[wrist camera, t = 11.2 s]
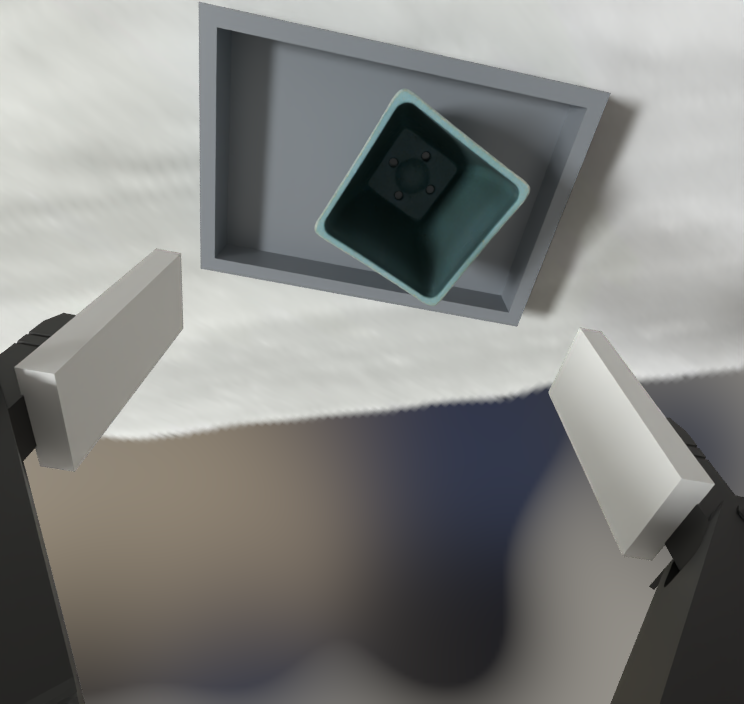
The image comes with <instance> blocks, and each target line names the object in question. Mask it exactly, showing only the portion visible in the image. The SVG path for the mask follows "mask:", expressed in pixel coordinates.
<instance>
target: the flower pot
mask: <svg viewBox="0 0 744 704" xmlns="http://www.w3.org/2000/svg"><path fill="white" fill-rule="evenodd" d="M424 152H427V153H429V158H428V159H427V160H424V159H423V158H422V154H423V153H424ZM392 158H395V159H396V160H397V164H396V166H391V165H390V163H389V161H390V159H392ZM428 186H433V188H434V190H433V192H432V193H428V192H427V187H428ZM398 191H399V192H401V193H402V197H401V198H400V199H397V198H396V197H395V193H396V192H398ZM529 193H530V186H529V185H528V184H527V182H526V181H525V180H523V179H522V178H521V177H519V176H518V175H517V174H515V173H514V172H513V171H511V170H510V169H509V168H508V167H506V166H505V165H504V164H503V163H501V162H500V161H498V160H497V159H496V158H495V157H493V156H492V155H491V154H489V153H488V152H487V151H486V150H484V149H483V148H482V147H481V146H479V145H478V144H477V143H476V142H474V141H473V140H472V139H471V138H469V137H468V136H467V135H466V134H464V133H463V132H462V131H460V130H459V129H458V128H457V127H455V126H454V125H453V124H452V123H451V122H449V121H448V120H447V119H446V118H444V117H443V116H442V115H441V114H439V113H438V112H437V111H436V110H434V109H433V108H432V107H431V106H430V105H428V104H427V103H426V102H425V101H424V100H422V99H421V98H420V97H419V96H418V95H416V94H415V93H414V92H412V91H411V90H409V89H401V90H399V91H398V92H397V93H396V94H395V96H394V97H393V99H392V100H391V102H390V103H389V105H388V107H387V109H386V110H385V112H384V114H383V115H382V117H381V119H380V120H379V122H378V124H377V125H376V127H375V129H374V130H373V132H372V134H371V136H370V137H369V139H368V140H367V142H366V143H365V145H364V147H363V149H362V150H361V152H360V154H359V155H358V157H357V158H356V160H355V161H354V163H353V165H352V166H351V168H350V169H349V171H348V173H347V174H346V176H345V177H344V179H343V181H342V182H341V184H340V185H339V187H338V188H337V190H336V192H335V193H334V195H333V196H332V198H331V200H330V201H329V203H328V204H327V206H326V207H325V209H324V210H323V212H322V214H321V215H320V217H319V218H318V220H317V221H316V224H315V232H316V234H318V235H319V236H320V237H322V238H323V239H324V240H326V241H327V242H329V243H331V244H332V245H334V246H335V247H337V248H339V249H341V250H342V251H344V252H345V253H347V254H348V255H350V256H352V257H353V258H355V259H357V260H358V261H360V262H361V263H363V264H365V265H366V266H368V267H369V268H371V269H372V270H374V271H376V272H377V273H379V274H380V275H382V276H383V277H385V278H386V279H388V280H390V281H391V282H393V283H394V284H396V285H398V286H399V287H400V288H402V289H403V290H405V291H406V292H408V293H409V294H411V295H412V296H414V297H415V298H417V299H418V300H419V301H421V302H422V303H424V304H426V305H429V306H435V305H437V304H438V303H439V302H440V301H441V300H442V299H443V298H444V297H445V296H446V294H447V293H448V291H449V290H450V289H451V288H452V287H453V286H454V284H455V283H456V282H457V281H458V279H459V278H460V277H461V276H462V274H463V273H464V272H465V271H466V270H467V268H468V267H469V266H470V265H471V264H472V262H473V261H474V260H475V259H476V257H478V255H479V254H480V253H481V251H482V250H483V249H484V248H485V247H486V245H487V244H488V243H489V242H490V241H491V239H492V238H493V237H494V236H495V235H496V234H497V233H498V231H499V230H500V229H501V228H502V227H503V226H504V224H505V223H506V222H507V221H508V220H509V218H511V216H512V215H513V214H514V213H515V212H516V211H517V210H518V209H519V207H520V206H521V205H522V204H523V203H524V202H525V200H526V198H527V197H528V195H529Z"/></svg>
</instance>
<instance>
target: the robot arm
mask: <svg viewBox="0 0 744 704" xmlns="http://www.w3.org/2000/svg"><path fill="white" fill-rule="evenodd" d="M182 329H183V303H182V271H181V253H177V252H172V251H167V250H161V249H155V250H154V251H153V252H152V253H150V254H149V255H148V256H147V257H146V258H144V259H143V260H142V261H141V262H140V263H138V264H137V265H136V266H135V267H134V268H132V269H131V270H130V271H129V272H128V273H126V274H125V275H124V276H123V277H122V278H120V279H119V280H118V281H117V282H116V283H114V284H113V285H112V286H111V287H110V288H108V289H107V290H106V291H105V292H104V293H102V294H101V295H100V296H99V297H98V298H96V299H95V300H94V301H93V302H92V303H91V304H89V305H88V306H87V307H86V308H85V309H83V310H82V311H81V312H80V313H79V314H77V315H71V314H66V313H63V314H60V315H57V316H55V317H52V318H50V319H47V320H45V321H43V322H41V323H40V324H39V325H38V326H36V327H35V328H34V329H32V330H31V331H30V332H29V334H26V335H25V336H23V337H22V338H21V339H19V340H18V342H17V343H14V344H13V345H12V346H10V347H9V348H8V349H7V350H5V351H4V352H3V353H1V354H0V704H85V701H84V697H83V693H82V689H81V685H80V681H79V677H78V673H77V669H76V665H75V661H74V658H73V654H72V649H71V646H70V642H69V638H68V634H67V630H66V626H65V622H64V618H63V614H62V610H61V606H60V602H59V599H58V595H57V591H56V587H55V583H54V579H53V575H52V571H51V567H50V564H49V559H48V555H47V552H46V548H45V544H44V540H43V536H42V532H41V528H40V524H39V520H38V516H37V513H36V508H35V505H34V501H33V497H32V493H31V489H30V485H29V481H28V477H27V473H26V469H25V466H24V462H23V461H24V459H26V457H27V456H28V455H29V454H30V453H31V452H32V451H33V449H36V452H37V456H38V460H39V464H40V466H42V467H49V468H55V469H62V470H68V471H74V472H75V471H76V469H77V468H78V467H79V465H80V464H81V463H82V461H83V460H84V459H85V457H86V456H87V455H88V453H89V452H90V451H91V450H92V448H93V447H94V446H95V444H96V443H97V442H98V440H99V439H100V438H101V436H102V435H103V434H104V432H105V431H106V430H107V428H108V427H109V426H110V424H111V423H112V422H113V420H114V419H115V418H116V417H117V415H118V414H119V413H120V411H121V410H122V409H123V407H124V406H125V405H126V403H127V402H128V401H129V399H130V398H131V397H132V395H133V394H134V393H135V391H136V390H137V389H138V387H139V386H140V385H141V383H142V382H143V381H144V380H145V378H146V377H147V376H148V374H149V373H150V372H151V370H152V369H153V368H154V366H155V365H156V364H157V362H158V361H159V360H160V358H161V357H162V356H163V354H164V353H165V352H166V350H167V349H168V348H169V346H170V345H171V344H172V342H173V341H174V340H175V339H176V337H177V336H178V335H179V333H180V332H181V331H182ZM549 395H550V397H551V399H552V401H553V404H554V406H555V408H556V410H557V413H558V415H559V417H560V419H561V421H562V423H563V426H564V428H565V430H566V432H567V435H568V437H569V439H570V441H571V443H572V445H573V448H574V450H575V452H576V454H577V456H578V459H579V461H580V463H581V465H582V468H583V470H584V472H585V474H586V476H587V479H588V481H589V483H590V485H591V487H592V490H593V491H594V494H595V496H596V498H597V501H598V503H599V505H600V507H601V509H602V512H603V514H604V516H605V518H606V520H607V523H608V525H609V527H610V529H611V531H612V534H613V536H614V538H615V540H616V543H617V545H618V547H619V549H620V551H621V554H622V556H626V557H632V558H639V559H646V560H653V559H654V558H655V556H656V555H657V554H658V553H659V552H660V550H661V549H662V548H663V546H665V545H666V547H667V549H668V550H669V552H670V554H671V556H672V558H673V560H672V561H671V562H670V563H669V564H668V565H667V567H666V568H665V569H664V570H663V571H662V572H661V573H660V575H659V576H658V577H657V578H656V579H655V581H654V582H653V583H652V584H651V585H650V586H649V587H651V588H652V589H655V588H656V587H657V586H658V587H657V589H656V592H655V594H654V597H653V599H652V602H651V604H650V607H649V609H648V612H647V614H646V617H645V619H644V622H643V624H642V627H641V629H640V632H639V634H638V637H637V639H636V642H635V645H634V647H633V649H632V652H631V654H630V656H629V659H628V662H627V664H626V666H625V669H624V671H623V674H622V677H621V679H620V681H619V684H618V686H617V689H616V692H615V694H614V696H613V699H612V701H611V704H744V497H740V496H735V494H734V493H733V492H732V490H731V489H730V488H729V487H728V485H727V484H726V483H725V481H724V480H723V479H722V477H721V476H720V475H719V474H718V472H717V471H716V470H715V468H714V467H713V466H712V464H711V463H710V462H709V460H706V459H705V458H706V457H705V455H704V454H703V453H702V452H701V450H700V449H699V448H697V445H696V444H695V442H694V441H693V440H692V438H691V437H690V436H689V435H688V433H687V432H686V431H685V430H684V429H683V428H681V427H680V426H679V425H678V424H676V423H675V422H674V421H673V420H672V419H670V418H666V417H665V416H664V415H663V414H662V412H661V411H660V409H659V408H658V407H657V405H656V404H655V403H654V401H653V400H652V399H651V397H650V396H649V395H648V393H647V392H646V391H645V389H644V388H643V387H642V385H641V384H640V382H639V381H638V380H637V378H636V377H635V376H634V374H633V373H632V372H631V370H630V369H629V368H628V366H627V365H626V364H625V362H624V361H623V360H622V358H621V357H620V355H619V354H618V353H617V351H616V350H615V349H614V347H613V346H612V345H611V343H610V342H609V341H608V339H607V338H606V337H605V335H604V334H603V333H602V332H601V331H596V330H591V329H585V328H579V330H578V332H577V334H576V336H575V339H574V341H573V343H572V345H571V347H570V349H569V351H568V353H567V355H566V357H565V359H564V361H563V363H562V365H561V368H560V370H559V372H558V374H557V376H556V378H555V380H554V382H553V384H552V386H551V388H550V390H549Z"/></svg>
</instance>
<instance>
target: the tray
mask: <svg viewBox="0 0 744 704" xmlns="http://www.w3.org/2000/svg"><path fill="white" fill-rule="evenodd" d="M401 89H409V90H411V91H412V92H414V93H415V94H416V95H418V96H419V97H420V98H421V99H422V100H424V101H425V102H426V103H427V104H428V105H430V106H431V107H432V108H433V109H434V110H436V111H437V112H438V113H439V114H441V115H442V116H443V117H444V118H446V119H447V120H448V121H449V122H451V123H452V124H453V125H454V126H455V127H457V128H458V129H459V130H460V131H462V132H463V133H464V134H466V135H467V136H468V137H469V138H471V139H472V140H473V141H474V142H476V143H477V144H478V145H479V146H481V147H482V148H483V149H484V150H486V151H487V152H488V153H489V154H491V155H492V156H493V157H495V158H496V159H497V160H498V161H500V162H501V163H503V164H504V165H505V166H506V167H508V168H509V169H510V170H511V171H513V172H514V173H515V174H517V175H518V176H519V177H521V178H522V179H523V180H525V181H526V182H527V184H528V185H529V186H530V193H529V195H528V197H527V198H526V200H525V202H524V203H523V204H522V205H521V206H520V207H519V209H518V210H517V211H516V212H515V213H514V214H513V215H512V216H511V218H509V220H508V221H507V222H506V223H505V224H504V226H503V227H502V228H501V229H500V230H499V231H498V233H497V234H496V235H495V236H494V237H493V238H492V239H491V241H490V242H489V243H488V244H487V245H486V247H485V248H484V249H483V250H482V251H481V253H480V254H479V255H478V257H476V259H475V260H474V261H473V262H472V264H471V265H470V266H469V267H468V268H467V270H466V271H465V272H464V273H463V274H462V276H461V277H460V278H459V279H458V281H457V282H456V283H455V284H454V286H453V287H452V288H451V289H450V290H449V291H448V293H447V294H446V296H445V297H444V298H443V299H442V300H441V301H440V302H439V303H438V304H437V305H435V306H429V305H426V304H424V303H422V302H421V301H419V300H418V299H417V298H415V297H414V296H412V295H411V294H409V293H408V292H406V291H405V290H403V289H402V288H400V287H399V286H398V285H396V284H394V283H393V282H391V281H390V280H388V279H386V278H385V277H383V276H382V275H380V274H379V273H377V272H376V271H374V270H372V269H371V268H369V267H368V266H366V265H365V264H363V263H361V262H360V261H358V260H357V259H355V258H353V257H352V256H350V255H348V254H347V253H345V252H344V251H342V250H341V249H339V248H337V247H335V246H334V245H332V244H331V243H329V242H327V241H326V240H324V239H323V238H322V237H320V236H319V235H318V234H316V232H315V224H316V221H317V220H318V218H319V217H320V215H321V214H322V212H323V210H324V209H325V207H326V206H327V204H328V203H329V201H330V200H331V198H332V196H333V195H334V193H335V192H336V190H337V188H338V187H339V185H340V184H341V182H342V181H343V179H344V177H345V176H346V174H347V173H348V171H349V169H350V168H351V166H352V165H353V163H354V161H355V160H356V158H357V157H358V155H359V154H360V152H361V150H362V149H363V147H364V145H365V143H366V142H367V140H368V139H369V137H370V136H371V134H372V132H373V130H374V129H375V127H376V125H377V124H378V122H379V120H380V119H381V117H382V115H383V114H384V112H385V110H386V109H387V107H388V105H389V103H390V102H391V100H392V99H393V97H394V96H395V94H396V93H397V92H398V91H399V90H401ZM609 96H610V93H609V92H604V91H600V90H595V89H591V88H586V87H582V86H577V85H573V84H568V83H564V82H559V81H555V80H550V79H546V78H541V77H536V76H532V75H527V74H523V73H518V72H514V71H509V70H505V69H500V68H496V67H491V66H487V65H482V64H478V63H473V62H469V61H464V60H460V59H455V58H451V57H446V56H442V55H437V54H433V53H428V52H424V51H419V50H414V49H410V48H405V47H401V46H396V45H392V44H387V43H383V42H378V41H374V40H369V39H365V38H360V37H356V36H351V35H347V34H342V33H338V32H333V31H329V30H324V29H320V28H315V27H311V26H306V25H302V24H297V23H293V22H288V21H283V20H279V19H274V18H270V17H265V16H261V15H256V14H252V13H247V12H243V11H238V10H234V9H229V8H225V7H220V6H216V5H211V4H207V3H202V2H199V104H200V241H201V269H206V270H212V271H217V272H222V273H228V274H233V275H239V276H244V277H250V278H255V279H261V280H266V281H272V282H277V283H283V284H288V285H293V286H299V287H304V288H310V289H315V290H321V291H326V292H332V293H337V294H343V295H348V296H353V297H359V298H364V299H370V300H375V301H381V302H386V303H392V304H397V305H403V306H408V307H413V308H419V309H424V310H430V311H435V312H441V313H446V314H452V315H457V316H463V317H468V318H474V319H479V320H484V321H490V322H495V323H501V324H506V325H512V326H518V323H519V321H520V318H521V316H522V313H523V311H524V308H525V306H526V303H527V301H528V298H529V296H530V293H531V291H532V288H533V286H534V283H535V281H536V278H537V276H538V273H539V271H540V268H541V266H542V263H543V261H544V258H545V256H546V253H547V251H548V248H549V246H550V243H551V241H552V238H553V236H554V233H555V231H556V228H557V226H558V223H559V221H560V218H561V216H562V213H563V211H564V208H565V206H566V203H567V201H568V198H569V196H570V193H571V191H572V188H573V186H574V183H575V181H576V178H577V176H578V173H579V171H580V168H581V166H582V163H583V161H584V158H585V156H586V153H587V151H588V148H589V146H590V143H591V141H592V138H593V136H594V133H595V131H596V128H597V126H598V123H599V121H600V118H601V116H602V113H603V111H604V108H605V106H606V103H607V101H608V98H609ZM422 158H423V159H424V160H427V159H428V158H429V153H427V152H424V153H423V154H422ZM389 163H390V165H391V166H396V164H397V160H396V159H395V158H392V159H390V161H389ZM433 190H434V188H433V186H428V187H427V192H428V193H432V192H433ZM395 197H396V198H397V199H400V198H401V197H402V193H401V192H399V191H398V192H396V193H395Z"/></svg>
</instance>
